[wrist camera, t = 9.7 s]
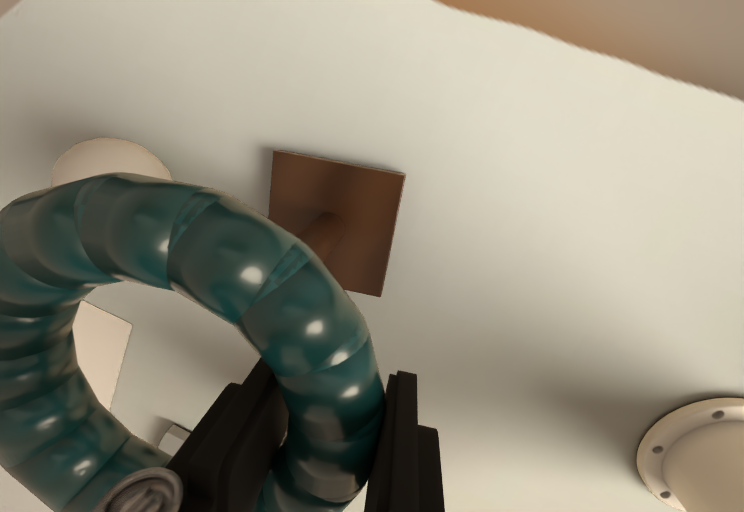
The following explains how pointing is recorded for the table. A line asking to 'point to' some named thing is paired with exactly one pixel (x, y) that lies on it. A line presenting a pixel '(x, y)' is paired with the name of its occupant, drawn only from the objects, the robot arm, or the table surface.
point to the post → (338, 214)
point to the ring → (204, 287)
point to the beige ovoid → (106, 161)
